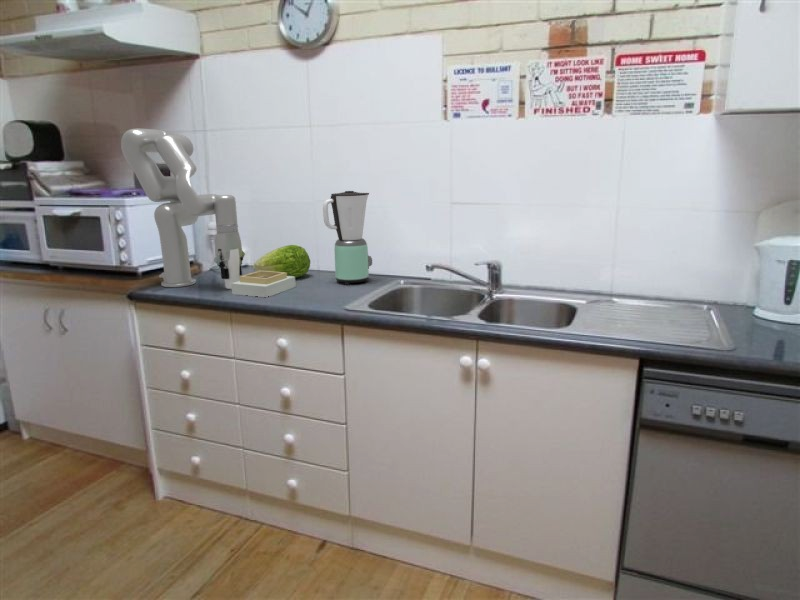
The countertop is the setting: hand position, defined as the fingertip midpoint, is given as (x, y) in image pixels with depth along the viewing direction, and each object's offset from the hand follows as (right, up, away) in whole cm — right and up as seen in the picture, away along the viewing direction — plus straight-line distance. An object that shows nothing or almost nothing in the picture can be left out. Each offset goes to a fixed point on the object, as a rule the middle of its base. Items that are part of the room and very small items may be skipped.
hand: (231, 276), depth 202 cm
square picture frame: (+13, -5, -3) cm, 15 cm away
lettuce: (+14, +1, +21) cm, 25 cm away
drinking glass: (0, -4, +1) cm, 5 cm away
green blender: (+44, -2, +9) cm, 45 cm away
